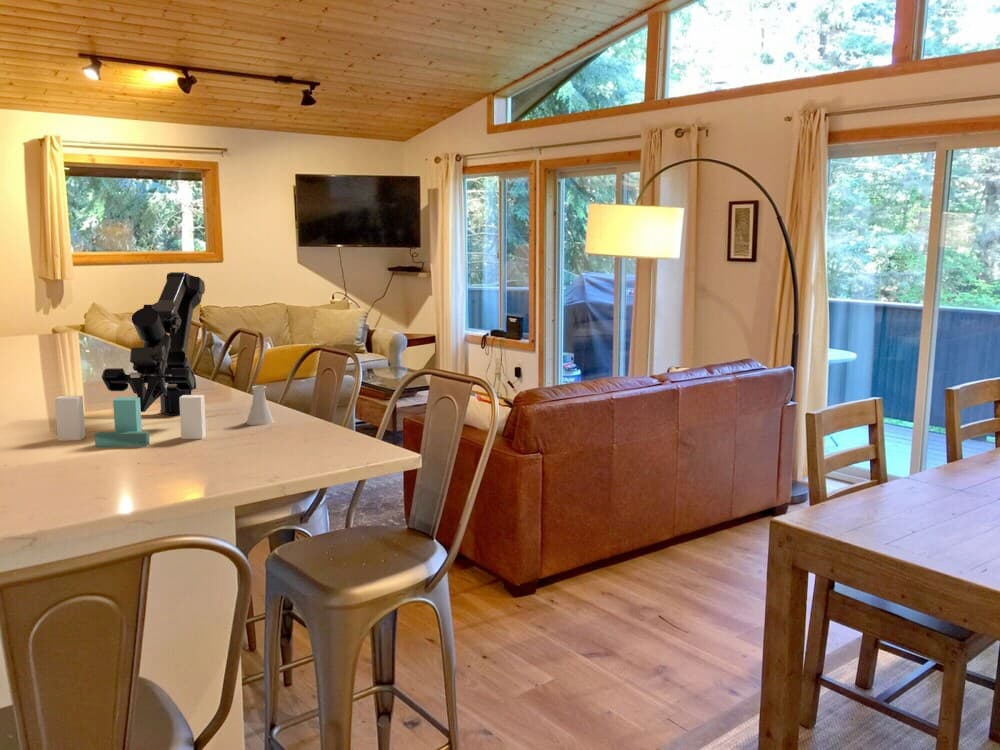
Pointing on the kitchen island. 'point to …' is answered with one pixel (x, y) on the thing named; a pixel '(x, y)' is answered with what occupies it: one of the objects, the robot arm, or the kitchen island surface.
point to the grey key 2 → (192, 416)
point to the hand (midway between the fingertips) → (142, 411)
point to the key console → (122, 439)
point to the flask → (259, 408)
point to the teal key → (127, 414)
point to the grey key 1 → (70, 418)
